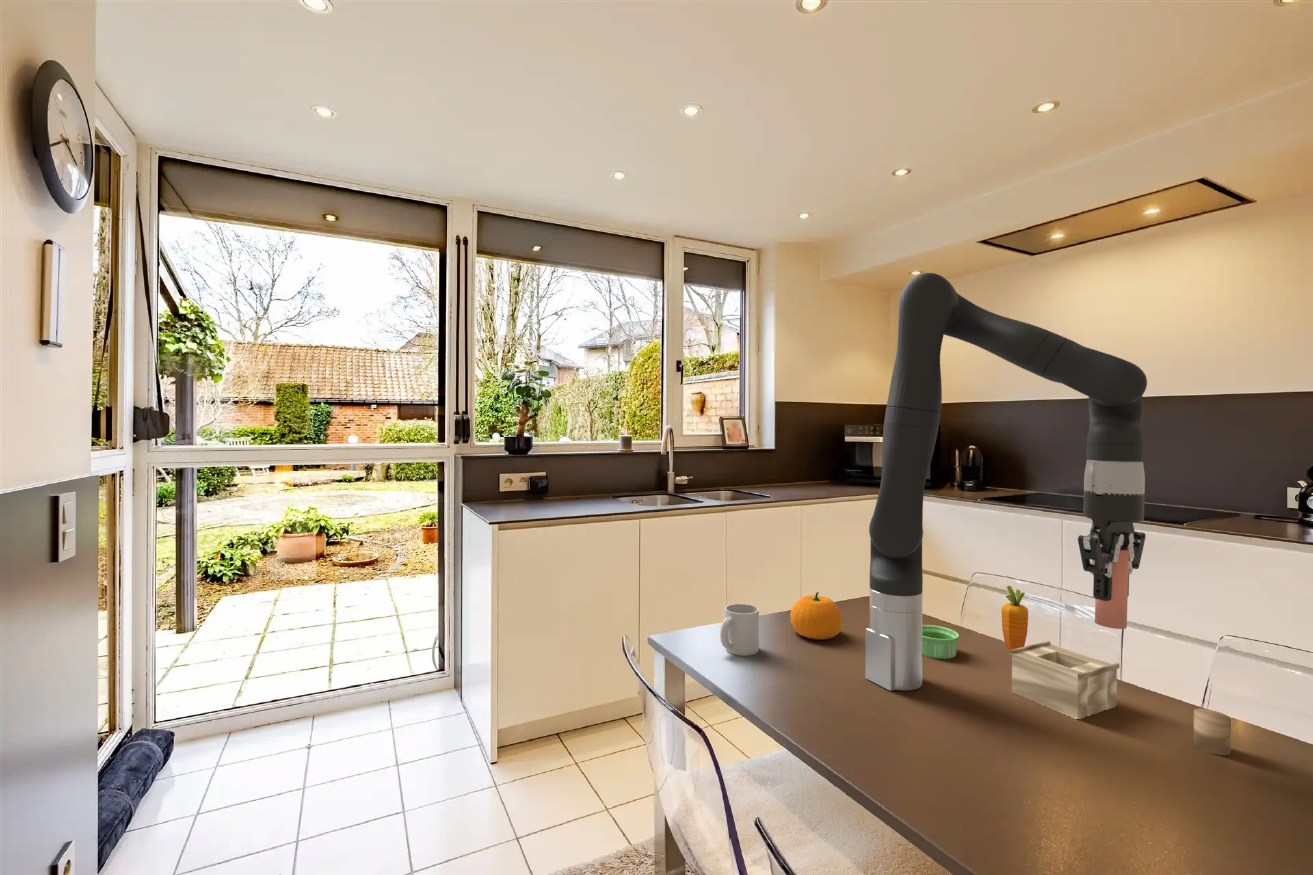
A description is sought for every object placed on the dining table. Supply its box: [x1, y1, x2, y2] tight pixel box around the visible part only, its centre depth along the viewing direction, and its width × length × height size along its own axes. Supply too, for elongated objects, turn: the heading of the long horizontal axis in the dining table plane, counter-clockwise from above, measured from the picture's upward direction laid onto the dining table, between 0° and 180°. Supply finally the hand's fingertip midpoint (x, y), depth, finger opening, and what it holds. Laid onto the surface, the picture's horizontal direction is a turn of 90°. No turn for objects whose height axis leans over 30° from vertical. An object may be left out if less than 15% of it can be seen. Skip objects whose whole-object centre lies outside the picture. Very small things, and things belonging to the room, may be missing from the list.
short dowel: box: [1193, 708, 1232, 756], centre depth 87 cm, size 4×4×5 cm
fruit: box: [789, 591, 844, 641], centre depth 135 cm, size 12×12×10 cm
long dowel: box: [1094, 550, 1129, 630], centre depth 92 cm, size 4×4×12 cm
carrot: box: [1001, 585, 1029, 658], centre depth 120 cm, size 5×5×15 cm
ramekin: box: [922, 624, 960, 660], centre depth 124 cm, size 9×9×4 cm
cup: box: [719, 603, 760, 657], centre depth 125 cm, size 7×10×9 cm
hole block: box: [1009, 640, 1120, 720], centre depth 102 cm, size 11×12×8 cm
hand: (1110, 597), depth 92 cm, fingers closed on long dowel, 4 cm apart
